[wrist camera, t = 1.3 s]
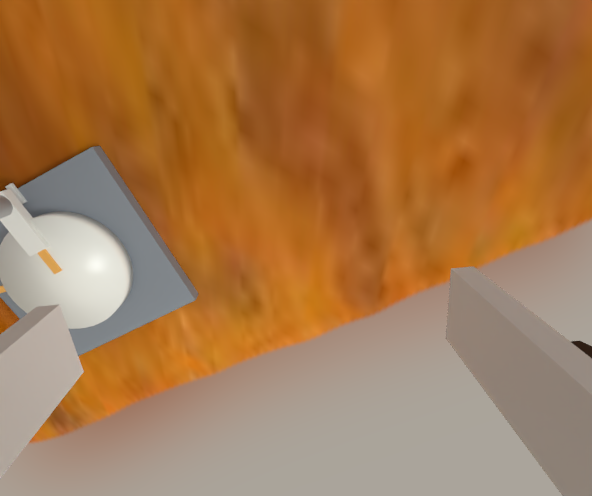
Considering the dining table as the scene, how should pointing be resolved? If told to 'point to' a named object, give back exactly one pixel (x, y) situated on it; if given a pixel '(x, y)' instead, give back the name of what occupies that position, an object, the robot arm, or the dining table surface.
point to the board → (125, 225)
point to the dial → (62, 263)
